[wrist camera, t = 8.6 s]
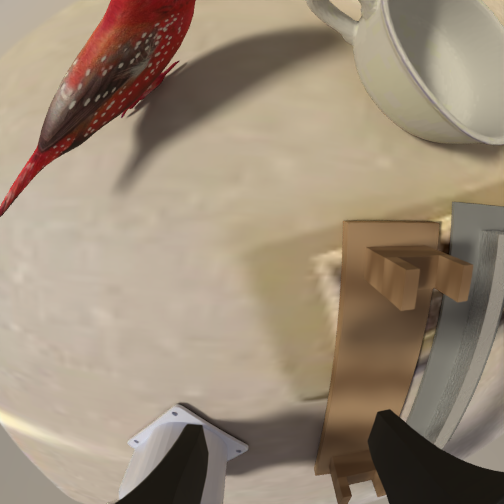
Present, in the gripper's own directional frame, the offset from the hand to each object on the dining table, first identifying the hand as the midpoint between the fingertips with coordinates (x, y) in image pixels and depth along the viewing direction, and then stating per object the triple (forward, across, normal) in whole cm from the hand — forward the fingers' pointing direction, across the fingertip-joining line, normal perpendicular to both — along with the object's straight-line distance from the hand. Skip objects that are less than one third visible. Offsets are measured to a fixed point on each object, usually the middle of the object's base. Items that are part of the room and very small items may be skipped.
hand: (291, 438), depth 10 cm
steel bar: (+9, -18, +5) cm, 21 cm away
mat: (+9, -18, +5) cm, 21 cm away
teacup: (+10, -8, -18) cm, 22 cm away
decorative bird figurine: (+10, +9, -15) cm, 20 cm away
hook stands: (+9, -8, +5) cm, 13 cm away
